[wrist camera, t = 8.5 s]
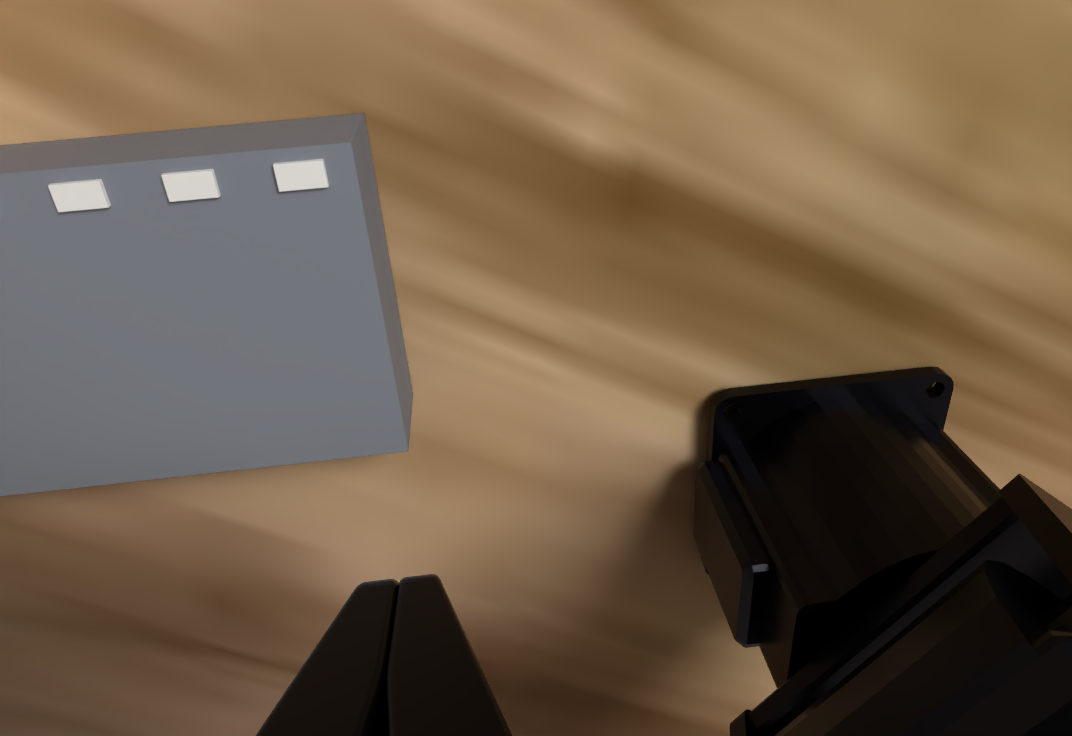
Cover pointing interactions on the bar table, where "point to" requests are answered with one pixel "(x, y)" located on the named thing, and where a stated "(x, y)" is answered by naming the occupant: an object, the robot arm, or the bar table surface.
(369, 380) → the grey flat block
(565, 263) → the bar table surface
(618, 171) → the bar table surface
